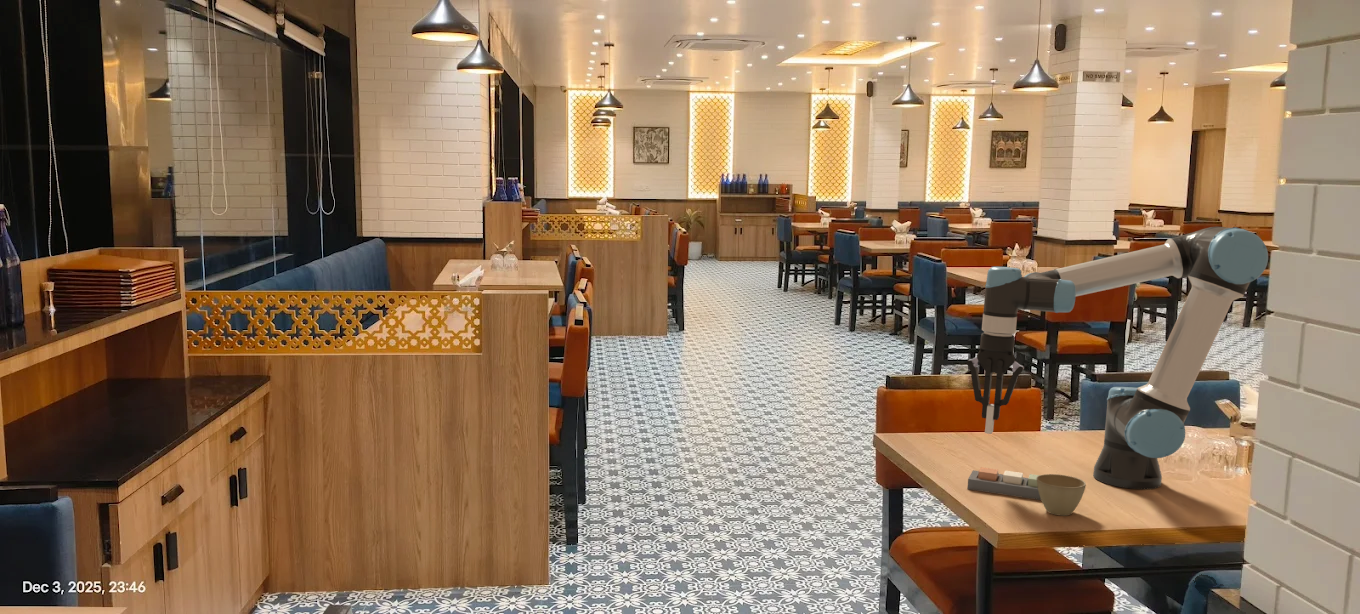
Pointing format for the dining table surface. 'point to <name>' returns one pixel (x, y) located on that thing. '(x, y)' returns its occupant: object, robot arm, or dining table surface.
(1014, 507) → the dining table surface
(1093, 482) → the dining table surface
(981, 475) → the peach key
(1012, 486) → the keyguard
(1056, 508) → the flower pot
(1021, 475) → the cream key
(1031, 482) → the sage key
